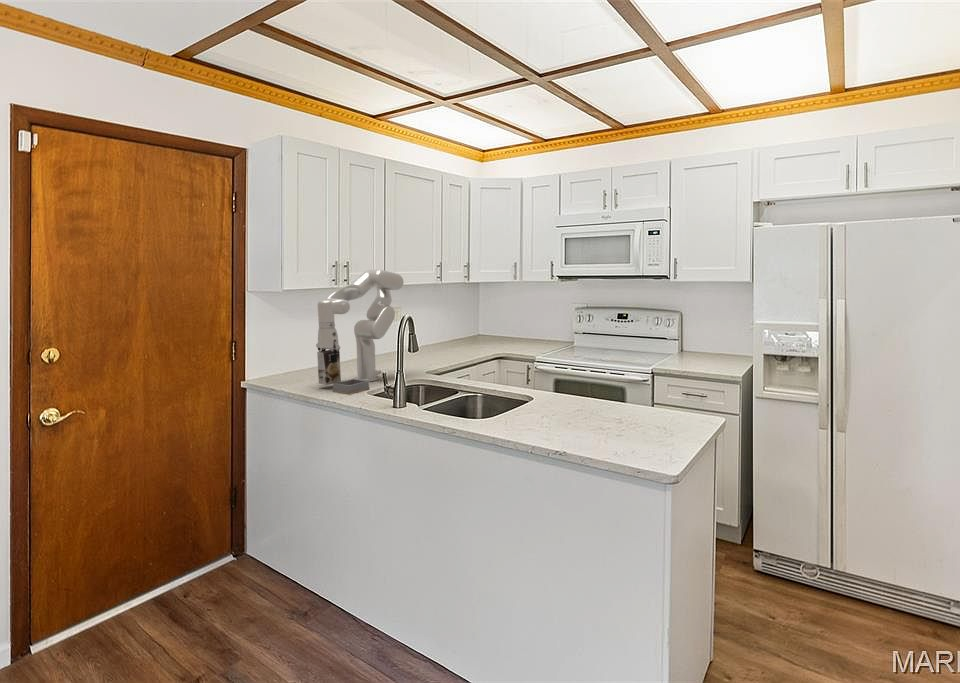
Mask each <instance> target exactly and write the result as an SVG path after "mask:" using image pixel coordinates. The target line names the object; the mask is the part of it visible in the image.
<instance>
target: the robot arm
mask: <svg viewBox="0 0 960 683" xmlns="http://www.w3.org/2000/svg"><path fill="white" fill-rule="evenodd" d="M404 282H405V281H404V279H403V276H402V275H400V274H399V273H395V272H391V271H387V270H383V269H368V270H365V271H364V272H363V273H361V274H360V275H359V276H358V277H357V278H356V279H355V280H354V281H352V282H351V283H350V284H348V285H345V286H343V287H341V288H340V289H338V290H335V292H332V293H331V294H330V295H329V296H328V297H327V298H326V299H324V300H322V299H321V300H319V301H318V302H317V317H318V329H317V330H318V331H317V343H316V345H315V347H316V348H317V350H318V352H320V351H326V350H330V351H331V354H332V355H331V363H335V362H337V354H338V351H339V352H340V349H341V346H340V343H339V337H338V336H339V335H338V330H337V328H336V324H335V315H345V314H347V313H348V312H349V311H350V309H351V308H350V307H351V305H350V302H349V301H353V300H357V299H360V298H362V297H364V296H365V295H366V294H367V293H369V292H370V290H371V289H372V288H374V287H376V291H377V292H376V297H375V298H374V300H373V302H372V303H371V304H370V306H369V308H368V310H367V311H366V314H365V315H366V318H367V319H361V320H358V321H357V322H355V324H354V326H353V332H354V336H355V343H356V369H357V371H356V372H357V373H356V374H357V376H355V377H354V378H353V379H357V380H364V381H369V382H375V381H378V380H379V379H380V377H379V376H378V375H380V374H382V370H381V369H379V370H377V369H376V368H377V367H376V344H375V341H374V340H380V339H382V338H383V337H384V336H385V335H386V334H387V332H388V330H389V329H390V327H391V326H392V324H393V322H394V320H395V317H396V311H395V309H394V306H392V305H391V304H392V301H393V300H392V294H391V291H398V290H400V289H402V288H403V286H404ZM333 350H334V352H333Z"/></svg>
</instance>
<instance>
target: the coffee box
mask: <svg viewBox="0 0 960 683" xmlns="http://www.w3.org/2000/svg"><path fill="white" fill-rule="evenodd" d="M333 352H334V350H333ZM316 354H317V372H318V373H317V375H318V384H319V385H324V386H329V385H333V383H337V382H342V377H341V376H342V374H341V372H342V371H341V357H340V350H339V351H338V354H337V362H335V363H331V355H332V354H331V351H330V349H326V351H320V352H319V351H317V353H316Z"/></svg>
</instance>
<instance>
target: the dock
mask: <svg viewBox="0 0 960 683" xmlns="http://www.w3.org/2000/svg"><path fill="white" fill-rule="evenodd" d="M332 388H333V389H332V392H333V393H337V392H338V394H343V393H345V395H352V393H353V394H356V392H357V393H360V392H363V391H368V390H370V388H371V387H370V381H364V380H357V379H354V378H351V379H348V380H346V379H345V380H341V382H337V383H333V384H332Z"/></svg>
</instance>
